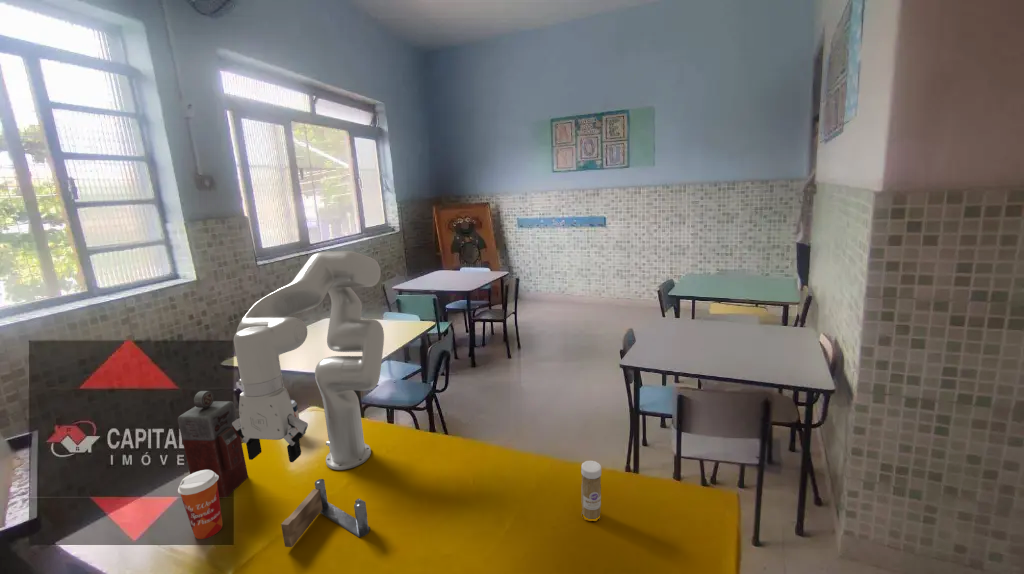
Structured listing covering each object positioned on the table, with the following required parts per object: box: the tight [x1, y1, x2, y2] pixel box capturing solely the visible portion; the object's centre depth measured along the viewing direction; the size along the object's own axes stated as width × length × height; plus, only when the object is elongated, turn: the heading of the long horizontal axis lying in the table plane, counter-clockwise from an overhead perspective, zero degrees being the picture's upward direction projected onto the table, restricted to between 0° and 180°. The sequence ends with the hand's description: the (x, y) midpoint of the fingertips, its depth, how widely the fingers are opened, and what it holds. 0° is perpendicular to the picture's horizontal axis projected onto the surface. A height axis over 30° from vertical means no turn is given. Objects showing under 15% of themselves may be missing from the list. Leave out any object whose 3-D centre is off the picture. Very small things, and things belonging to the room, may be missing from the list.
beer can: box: [289, 399, 300, 438], centre depth 144 cm, size 5×5×12 cm
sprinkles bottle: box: [580, 460, 602, 519], centre depth 104 cm, size 5×5×14 cm
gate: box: [280, 488, 323, 548], centre depth 104 cm, size 12×2×6 cm, turn 171°
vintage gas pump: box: [177, 390, 249, 499], centre depth 119 cm, size 9×11×28 cm
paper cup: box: [177, 470, 223, 540], centre depth 105 cm, size 8×8×14 cm
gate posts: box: [314, 478, 371, 538], centre depth 107 cm, size 18×4×8 cm, turn 56°
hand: (275, 457), depth 98 cm, fingers open, 9 cm apart
